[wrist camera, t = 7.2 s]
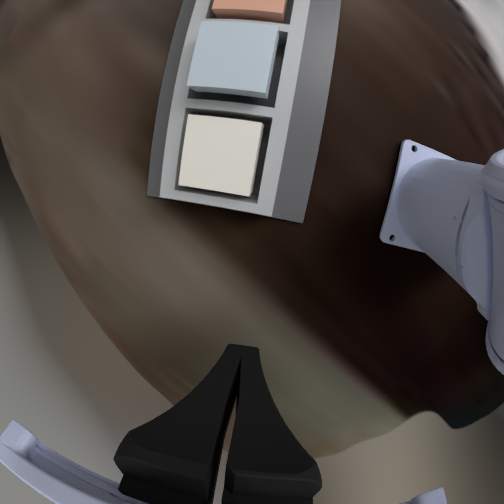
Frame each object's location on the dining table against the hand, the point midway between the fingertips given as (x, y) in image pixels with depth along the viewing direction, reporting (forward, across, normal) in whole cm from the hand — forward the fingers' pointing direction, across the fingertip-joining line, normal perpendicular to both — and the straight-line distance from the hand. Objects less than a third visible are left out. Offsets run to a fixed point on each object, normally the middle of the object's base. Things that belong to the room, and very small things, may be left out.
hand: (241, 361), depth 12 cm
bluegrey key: (+8, +3, -14) cm, 17 cm away
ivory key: (+10, +3, -9) cm, 13 cm away
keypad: (+10, +2, -18) cm, 20 cm away
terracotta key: (+10, +2, -20) cm, 23 cm away
